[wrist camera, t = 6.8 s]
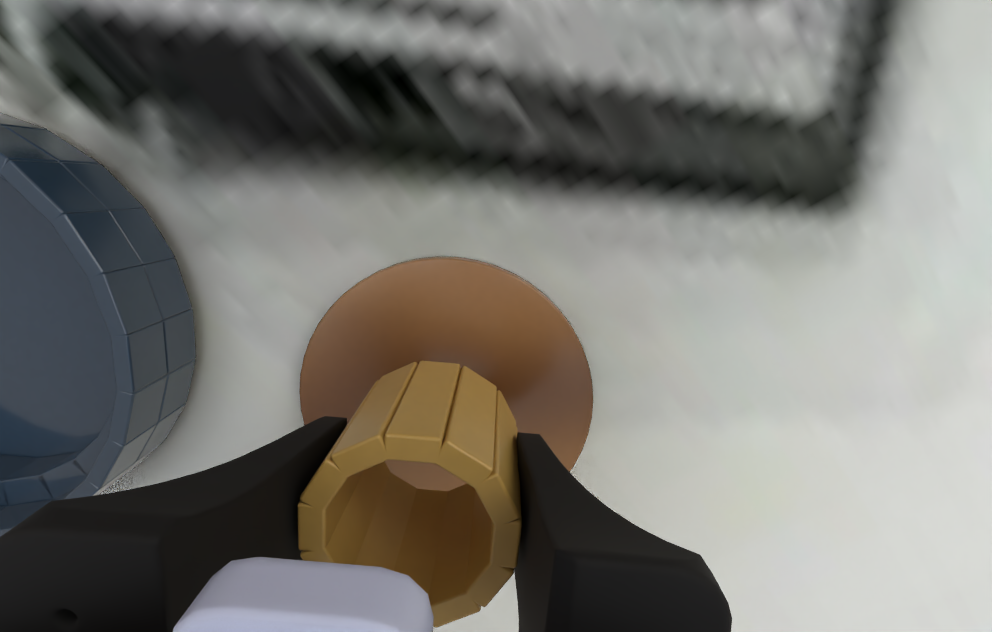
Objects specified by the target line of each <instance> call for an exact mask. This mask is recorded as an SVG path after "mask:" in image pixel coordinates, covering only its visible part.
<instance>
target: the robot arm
mask: <svg viewBox="0 0 992 632" xmlns="http://www.w3.org/2000/svg"><path fill="white" fill-rule="evenodd" d="M346 426H347V418H343V417H331V416H324V417H321V418H319V419H316V420H314V421H312V422H310V423H308V424H306V425H305V426H303V427H301V428H299V429H297V430H295V431H293V432H291V433H289V434H287V435H285V436H283V437H281V438H279V439H278V440H276V441H274V442H272V443H269V444H267V445H265V446H263V447H261V448H259V449H257V450H254V451H252V452H250V453H248V454H246V455H244V456H241V457H239V458H237V459H234V460H232V461H229V462H227V463H224V464H221V465H218V466H216V467H213V468H210V469H207V470H204V471H201V472H198V473H195V474H191V475H187V476H184V477H180V478H177V479H173V480H170V481H166V482H163V483H159V484H154V485H150V486H145V487H141V488H136V489H131V490H126V491H120V492H115V493H109V494H103V495H95V496H87V497H80V498H72V499H65V500H55V501H50V502H49V503H47V504H46V505H45V506H43V507H42V508H40V509H39V510H38V511H36V512H35V513H33V514H32V515H30V516H29V517H28V518H26V519H25V520H23V521H22V522H21V523H19V524H18V525H16V526H15V527H13V528H12V529H11V530H9V531H8V532H6V533H5V534H4V535H2V536H1V537H0V632H433V619H434V617H433V613H432V609H431V605H430V601H429V597H428V594H427V593H426V592H425V591H424V590H423V589H422V588H421V587H420V586H419V585H418V584H417V583H416V582H415V581H414V580H413V579H412V578H410V577H409V576H408V575H405V574H402V573H399V572H396V571H392V570H389V569H386V568H383V567H376V566H364V565H352V564H340V563H328V562H316V561H304V560H302V558H301V556H300V554H301V552H302V550H299V548H298V503H299V502H300V495H301V494H302V492H303V491H304V489H305V488H306V486H307V485H308V483H309V482H310V480H311V479H312V477H313V476H314V474H315V473H316V471H317V470H318V468H319V467H320V465H321V464H322V462H323V461H324V459H325V457H326V456H327V454H328V453H329V451H330V450H331V448H332V447H333V445H334V444H335V442H336V441H337V439H338V438H339V436H340V435H341V433H342V432H343V430H344V429H345V427H346ZM517 457H518V472H519V479H520V495H521V516H522V527H521V536H520V545H519V554H518V563H517V566H516V568H514V571H515V580H516V589H517V599H518V612H519V632H731V624H732V617H731V613H730V609H729V605H728V602H727V600H726V598H725V596H724V594H723V592H722V591H721V589H720V587H719V585H718V583H717V581H716V579H715V578H714V576H713V574H712V572H711V571H710V569H709V568H708V566H707V565H706V563H705V562H704V560H703V559H702V557H701V555H699V554H697V553H694V552H692V551H689V550H687V549H684V548H682V547H679V546H677V545H674V544H672V543H669V542H667V541H665V540H663V539H661V538H659V537H657V536H655V535H653V534H651V533H649V532H647V531H645V530H643V529H641V528H639V527H638V526H636V525H634V524H632V523H631V522H629V521H628V520H626V519H625V518H623V517H622V516H620V515H618V514H617V513H615V512H614V511H613V510H611V509H610V508H608V507H607V506H606V505H604V504H603V503H602V502H601V501H599V500H598V499H597V498H596V497H595V496H593V495H592V494H591V493H590V492H589V491H588V490H586V489H585V488H584V487H583V486H582V485H581V484H580V483H579V482H578V481H577V480H576V479H575V478H574V477H573V476H572V475H571V473H570V472H569V471H568V470H567V469H566V468H565V466H564V465H563V464H562V463H561V462H560V460H559V459H558V458H557V457H556V455H555V454H554V453H553V451H552V450H551V449H550V447H549V446H548V444H547V443H546V442H545V440H544V439H543V438H542V436H541V435H540V434H533V433H521V432H518V433H517Z"/></svg>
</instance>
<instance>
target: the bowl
mask: <svg viewBox="0 0 992 632" xmlns="http://www.w3.org/2000/svg"><path fill="white" fill-rule="evenodd" d="M174 257H175V256H174V254H173V252H172V251H171V249H170V248H169V246H168V244H167V243H166V241H165V240H164V238H163V236H162V235H161V233H160V232H159V230H158V229H157V227H156V225H155V224H154V222H153V221H152V219H151V217H150V216H149V214H148V213H147V211H146V209H145V208H144V207H143V206H142V205H141V204H140V203H139V202H138V201H137V200H136V199H135V198H134V197H133V196H132V195H131V194H130V193H129V192H128V191H127V190H126V189H125V188H124V187H123V186H122V185H121V183H120V182H119V181H118V180H117V179H116V178H115V177H114V176H113V175H112V174H111V173H110V172H109V171H108V170H107V169H106V168H105V167H104V166H103V165H101V164H99V163H98V162H97V161H95V160H94V159H92V158H91V157H89V156H87V155H86V154H84V153H83V152H81V151H80V150H78V149H77V148H75V147H73V146H72V145H70V144H69V143H67V142H66V141H64V140H63V139H61V138H59V137H58V136H56V135H55V134H53V133H52V132H50V131H48V130H47V129H45V128H42V127H40V126H37V125H34V124H31V123H28V122H25V121H23V120H20V119H17V118H14V117H11V116H9V115H6V114H3V113H0V537H1V536H2V535H4V534H5V533H6V532H8V531H9V530H11V529H12V528H13V527H15V526H16V525H18V524H19V523H21V522H22V521H23V520H25V519H26V518H28V517H29V516H30V515H32V514H33V513H35V512H36V511H38V510H39V509H40V508H42V507H43V506H45V505H46V504H47V503H49V502H50V501H55V500H65V499H72V498H80V497H87V496H95V495H99V494H101V493H102V492H103V491H104V490H105V489H107V488H108V487H110V486H111V485H112V484H114V483H115V482H116V481H117V480H119V479H120V478H121V477H123V476H124V475H125V474H127V473H128V472H129V471H131V470H132V469H133V468H134V467H136V466H137V465H138V464H139V463H140V462H141V461H142V460H143V459H145V458H146V457H147V456H148V455H149V454H150V453H151V452H152V451H154V450H155V449H156V448H157V447H158V446H159V445H160V444H161V443H162V442H163V441H164V440H165V439H166V438H167V436H168V434H169V432H170V431H171V429H172V427H173V426H174V424H175V422H176V420H177V419H178V417H179V415H180V413H181V412H182V410H183V408H184V407H185V405H186V402H187V398H188V393H189V389H190V384H191V379H192V375H193V370H194V366H195V361H196V359H195V358H196V347H195V332H194V318H193V310H192V306H191V303H190V300H189V297H188V294H187V291H186V288H185V285H184V282H183V279H182V276H181V273H180V270H179V267H178V264H177V261H176V259H175V258H174Z"/></svg>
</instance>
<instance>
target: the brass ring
mask: <svg viewBox="0 0 992 632" xmlns="http://www.w3.org/2000/svg"><path fill="white" fill-rule="evenodd" d="M460 367H461V366H460V364H456V363H444V362H433V361H420V363H419V365H418V363H417V362H413V363H410V364H408V365H406V366H404V367H402V368H399V369H397V370H395V371H393V372H390V373H388V374H386V375H384V376H382V377H381V378H380V380H377V381H376V382H375V384H374V385H373V387H372V388H371V390H370V391H369V393H368V394H367V396H366V397H365V398H364V400H363V401H362V403H361V404H360V406H359V407H358V409H357V410H356V412H355V413H354V415H353V416H352V418H351V419H350V421H349V423H348V424H347V426H346V427H345V429H344V430H343V432H342V433H341V435H340V436H339V438H338V439H337V441H336V442H335V444H334V445H333V447H332V448H331V450H330V451H329V453H328V454H327V456H326V457H325V459H324V461H323V462H322V464H321V465H320V467H319V468H318V470H317V471H316V473H315V474H314V476H313V477H312V479H311V480H310V482H309V483H308V485H307V486H306V488H305V489H304V491H303V492H302V494H301V495H300V502H299V503H298V548H299V550H302V552H301V554H300V556H301V558H302V560H304V561H316V562H328V563H340V564H352V565H364V566H376V567H383V568H386V569H389V570H392V571H396V572H399V573H402V574H405V575H408V576H409V577H410V578H412V579H413V580H414V581H415V582H416V583H417V584H418V585H419V586H420V587H421V588H422V589H423V590H424V591H425V592H426V593H427V594H428V597H429V601H430V605H431V609H432V613H433V617H434V619H433V626H434V627H439V626H442V625H444V624H447V623H450V622H452V621H455V620H458V619H461V618H463V617H466V616H469V615H471V614H474V613H477V612H479V611H480V610H481V606H483V607H485V606H487V604H488V603H489V602H490V601H491V600H492V598H493V597H494V596H495V595H496V594H497V593H498V591H499V590H500V589H501V588H502V587H503V585H504V584H505V583H506V582H507V581H508V580H509V578H510V577H511V576H512V575H513V573H514V568H516V566H517V563H518V554H519V545H520V536H521V527H522V516H521V495H520V479H519V472H518V457H517V433H518V432H517V427H516V420H515V418H514V416H513V414H512V412H511V410H510V408H509V406H508V404H507V402H506V400H505V399H504V397H503V395H502V393H501V391H500V390H498V391H497V387H496V386H495V385H494V384H492V383H491V382H489V381H488V380H486V379H485V378H483V377H482V376H480V375H478V374H477V373H475V372H474V371H472V370H471V369H469V368H468V367H466V366H463V367H462V368H461V370H460ZM387 460H396V461H408V462H420V463H432V464H436V465H438V466H440V467H441V468H443V469H444V470H446V471H448V472H449V473H451V474H453V475H454V476H456V477H457V478H459V479H461V480H462V481H464V482H466V483H467V484H464V485H462V486H459V487H457V488H454V489H452V490H450V491H441V490H429V489H417V488H416V487H414V486H412V485H411V484H409V483H407V482H406V481H404V480H402V479H401V478H399V477H397V476H396V475H394V474H392V473H391V472H390V470H389V468H388V467H387V465H386V463H385V462H384V461H387Z"/></svg>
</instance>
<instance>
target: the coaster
mask: <svg viewBox="0 0 992 632" xmlns="http://www.w3.org/2000/svg"><path fill="white" fill-rule="evenodd" d="M420 361H433V362H444V363H456V364H460V366H461V367H460V370H461V368H462V367H463V366H466V367H468V368H469V369H471V370H472V371H474V372H475V373H477V374H478V375H480V376H482V377H483V378H485V379H486V380H488V381H489V382H491V383H492V384H494V385H495V386H496V387H497V391H498V390H500V391H501V393H502V395H503V397H504V399H505V400H506V402H507V404H508V406H509V408H510V410H511V412H512V414H513V416H514V418H515V420H516V427H517V432H521V433H533V434H540V435H541V436H542V438H543V439H544V440H545V442H546V443H547V444H548V446H549V447H550V449H551V450H552V451H553V453H554V454H555V455H556V457H557V458H558V459H559V460H560V462H561V463H562V464H563V465H564V466H565V468H566V469H567V470H568V471H569V472H570V470H571V469H572V468H573V466H574V464H575V463H576V461H577V459H578V457H579V455H580V453H581V451H582V449H583V446H584V444H585V441H586V438H587V436H588V432H589V428H590V423H591V418H592V408H593V389H592V379H591V374H590V370H589V365H588V361H587V359H586V356H585V353H584V351H583V348H582V345H581V343H580V341H579V339H578V337H577V335H576V334H575V332H574V330H573V328H572V326H571V325H570V323H569V322H568V320H567V319H566V318H565V316H564V315H563V314H562V312H561V311H560V310H559V309H558V308H557V307H556V305H555V304H554V303H553V302H552V301H551V300H550V299H549V298H548V297H547V296H546V295H545V294H543V293H542V292H541V291H539V290H538V289H537V288H536V287H534V286H533V285H532V284H531V283H529V282H527V281H526V280H524V279H522V278H521V277H519V276H517V275H516V274H514V273H511V272H509V271H507V270H505V269H502V268H500V267H498V266H495V265H492V264H488V263H485V262H481V261H478V260H473V259H466V258H459V257H428V258H419V259H413V260H409V261H405V262H401V263H397V264H395V265H392V266H390V267H387V268H385V269H382V270H380V271H377V272H376V273H374V274H372V275H370V276H369V277H367V278H365V279H363V280H362V281H360V282H359V283H357V284H356V285H355V286H353V287H352V288H351V289H350V290H348V291H347V292H346V293H344V294H343V295H342V296H341V297H340V298H339V299H338V300H337V301H336V302H335V303H334V304H333V305H332V306H331V307H330V308H329V310H328V311H327V313H326V314H325V315H324V317H323V318H322V319H321V321H320V322H319V324H318V326H317V327H316V329H315V331H314V333H313V335H312V337H311V339H310V341H309V344H308V347H307V350H306V353H305V355H304V359H303V364H302V369H301V375H300V403H301V412H302V416H303V421H304V425H306V424H308V423H310V422H312V421H314V420H316V419H319V418H321V417H324V416H331V417H343V418H347V424H348V423H349V421H350V419H351V418H352V416H353V415H354V413H355V412H356V410H357V409H358V407H359V406H360V404H361V403H362V401H363V400H364V398H365V397H366V396H367V394H368V393H369V391H370V390H371V388H372V387H373V385H374V384H375V382H376V381H377V380H380V378H381V377H382V376H384V375H386V374H388V373H390V372H393V371H395V370H397V369H399V368H402V367H404V366H406V365H408V364H410V363H413V362H417V363H418V365H419V363H420ZM384 462H385V463H386V465H387V467H388V468H389V470H390V472H391V473H392V474H394V475H396V476H397V477H399V478H401V479H402V480H404V481H406V482H407V483H409V484H411V485H412V486H414V487H416V488H417V489H429V490H441V491H450V490H452V489H454V488H457V487H459V486H462V485H464V484H467V483H466V482H464V481H462V480H461V479H459V478H457V477H456V476H454V475H453V474H451V473H449V472H448V471H446V470H444V469H443V468H441V467H440V466H438V465H436V464H432V463H420V462H408V461H396V460H387V461H384Z"/></svg>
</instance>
